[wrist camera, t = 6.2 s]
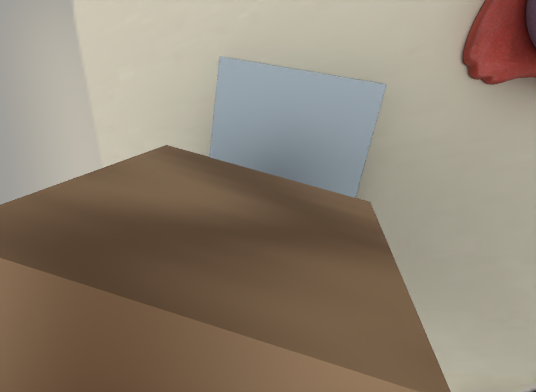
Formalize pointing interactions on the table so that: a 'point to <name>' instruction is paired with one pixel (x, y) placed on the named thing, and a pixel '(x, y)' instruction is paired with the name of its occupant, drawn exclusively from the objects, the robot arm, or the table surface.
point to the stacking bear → (502, 41)
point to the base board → (294, 123)
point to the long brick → (203, 286)
